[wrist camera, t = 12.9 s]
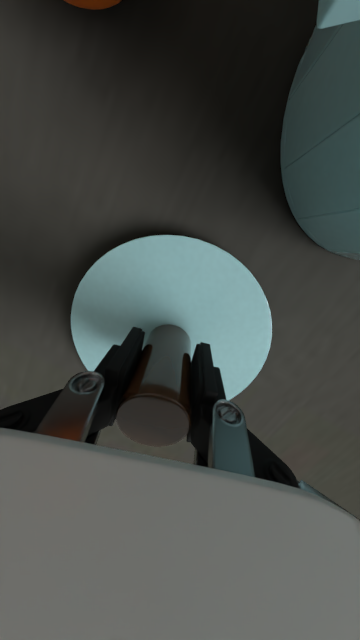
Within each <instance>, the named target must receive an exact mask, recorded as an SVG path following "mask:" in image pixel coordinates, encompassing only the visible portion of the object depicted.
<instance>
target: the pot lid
mask: <svg viewBox="0 0 360 640" xmlns="http://www.w3.org/2000/svg"><path fill="white" fill-rule="evenodd" d="M132 327H137V328H141V329H142V331H144V332H145V336H144V342H143V348H142V352H141V354H140V357H139V359H138V361H137V364H136V366H135V368H134V371H133V373H132V375H131V378H130V380H129V382H128V384H127V387H126V389H125V391H124V394H123V396H122V398H121V401H120V403H119V405H118V408H117V410H116V422H117V425H118V427H119V429H120V430H121V431H122V433H123V434H124V435H126V436H127V437H128V438H130V439H131V440H133V441H135V442H137V443H140V444H143V445H147V446H154V447H161V446H168V445H172V444H175V443H177V442H179V441H180V440H182V439H183V438H184V437H185V436H186V435H187V433H188V432H189V430H190V427H191V361H192V357H193V354H194V351H195V348H196V345H197V344H200V343H201V342H203V343H207V344H210V348H211V354H212V359H213V365H214V367H219V369H220V372H221V377H222V381H223V386H224V391H225V395H226V400H230V399H232V398H233V397H235V396H236V395H238V394H239V393H240V392H242V391H243V390H244V389H245V388H246V387H247V386H248V385H249V384H250V383H251V382H252V381H253V380H254V378H255V377H256V376H257V374H258V373H259V371H260V370H261V368H262V366H263V364H264V362H265V360H266V358H267V355H268V352H269V349H270V344H271V338H272V320H271V313H270V308H269V305H268V302H267V299H266V296H265V294H264V292H263V290H262V288H261V286H260V285H259V283H258V282H257V280H256V279H255V278H254V276H253V275H252V273H251V272H250V271H249V270H248V269H247V268H246V267H245V266H244V265H243V264H242V263H241V262H240V261H238V260H237V259H236V258H234V257H233V256H232V255H231V254H229V253H228V252H226V251H224V250H222V249H221V248H219V247H217V246H215V245H213V244H210V243H207V242H205V241H202V240H200V239H195V238H191V237H186V236H179V235H153V236H147V237H142V238H138V239H134V240H131V241H129V242H126V243H124V244H121V245H119V246H117V247H116V248H114V249H112V250H110V251H109V252H107V253H106V254H105V255H103V256H102V257H101V258H100V259H98V260H97V261H96V262H95V263H94V264H93V265H92V267H91V268H90V269H89V270H88V271H87V272H86V274H85V275H84V277H83V279H82V280H81V282H80V284H79V286H78V288H77V290H76V293H75V296H74V300H73V303H72V309H71V331H72V336H73V341H74V344H75V347H76V350H77V352H78V354H79V356H80V359H81V361H82V362H83V364H84V365H85V367H86V368H87V370H88V371H94V370H95V369H96V367H97V366H98V365H99V363H100V362H101V360H102V359H103V358H104V356H105V355H106V354H107V352H108V351H109V350H110V348H111V347H112V346H113V345H114V344H115V345H120V346H121V344H122V343H123V341H124V340H125V338H126V337H127V335H128V333H129V332H130V330H131V329H132Z"/></svg>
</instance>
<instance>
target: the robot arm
mask: <svg viewBox="0 0 360 640" xmlns="http://www.w3.org/2000/svg"><path fill="white" fill-rule="evenodd" d="M144 336H145V332H144V331H142V329H141V328H137V327H132V329H131V330H130V332H129V333H128V335H127V337H126V338H125V340H124V341H123V343H122V344H121V346H120V345H115V344H114V345H113V346H112V347H111V348H110V350H109V351H108V352H107V354H106V355H105V356H104V358H103V359H102V360H101V362H100V363H99V365H98V366H97V367H96V369H95V370H94V371H84V372H80V373H78V374H76V375H74V376H73V377H72V378H71V379H70V380H69V381H68V383H67V384H66V386H65V387H64V389H61V390H58V391H55V392H52V393H49V394H46V395H43V396H40V397H37V398H34V399H31V400H28V401H24V402H21V403H18V404H15V405H12V406H9V407H6V408H4V409H2V410H0V640H360V520H359V519H358V518H357V517H355V516H354V515H352V514H351V513H349V512H348V511H346V510H345V509H344V508H342V507H341V506H339V505H338V504H336V503H335V502H333V501H332V500H330V499H329V498H327V497H326V496H325V495H323V494H322V493H320V492H319V491H317V490H316V489H314V488H313V487H311V486H310V485H308V484H307V483H305V482H304V481H303V480H301V481H300V482H299V481H297V480H296V477H295V476H294V474H293V472H292V471H291V470H290V468H289V467H288V466H287V465H286V464H285V463H284V462H283V461H282V460H281V459H280V458H278V457H277V456H276V455H275V454H274V453H273V452H272V451H271V450H270V449H269V448H268V447H267V446H265V445H264V444H263V443H262V442H261V441H260V440H259V439H258V438H257V437H256V436H255V435H254V434H252V433H251V432H250V431H249V430H248V429H247V427H246V421H245V416H244V414H243V412H242V410H241V409H240V408H239V407H238V406H237V405H236V404H234V403H233V402H231V401H228V400H226V395H225V391H224V386H223V381H222V377H221V372H220V369H219V367H214V365H213V359H212V354H211V348H210V344H207V343H203V342H201V343H200V344H197V345H196V348H195V351H194V354H193V357H192V361H191V427H190V430H189V432H188V433H187V442H191V443H192V445H193V446H194V447H195V453H194V464H189V463H184V462H179V461H174V460H169V459H164V458H159V457H154V456H149V455H144V454H139V453H134V452H129V451H124V450H119V449H114V448H109V447H104V446H99V445H96V444H97V441H98V438H99V435H100V432H101V429H103V428H105V427H107V426H108V425H109V426H112V425H113V423H114V420H115V419H116V410H117V408H118V405H119V403H120V401H121V398H122V396H123V394H124V391H125V389H126V387H127V384H128V382H129V380H130V378H131V375H132V373H133V371H134V368H135V366H136V364H137V361H138V359H139V357H140V354H141V352H142V348H143V342H144Z"/></svg>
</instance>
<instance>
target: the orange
mask: <svg viewBox="0 0 360 640" xmlns="http://www.w3.org/2000/svg"><path fill="white" fill-rule="evenodd" d="M64 1H66V2H67V3H69V4H72V5H74V6H77V7H80V8H85V9H92V10H97V9H105V8H109V7H111V6H114V5H116V4H118V3H119V2H121V1H122V0H64Z"/></svg>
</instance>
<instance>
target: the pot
mask: <svg viewBox="0 0 360 640" xmlns="http://www.w3.org/2000/svg"><path fill="white" fill-rule="evenodd" d="M280 163H281V173H282V182H283V186H284V190H285V195H286V199H287V201H288V204H289V206H290V209H291V212H292V214H293V215H294V217H295V219H296V221H297V222H298V224H299V226H300V227H301V228H302V229H303V230H304V232H305V233H306V234H307V235H308V236H309V237H310V238H311V239H312V240H313V241H314V242H316V243H317V244H318V245H320V246H321V247H323V248H325V249H326V250H328V251H330V252H332V253H335V254H337V255H340V256H344V257H348V258H352V259H356V260H360V0H319V2H318V11H317V21H316V26H315V29H314V31H313V33H312V35H311V37H310V39H309V41H308V43H307V46H306V48H305V50H304V53H303V55H302V58H301V60H300V62H299V65H298V67H297V70H296V73H295V77H294V80H293V83H292V86H291V89H290V92H289V96H288V101H287V105H286V110H285V114H284V119H283V127H282V136H281V161H280Z"/></svg>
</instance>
